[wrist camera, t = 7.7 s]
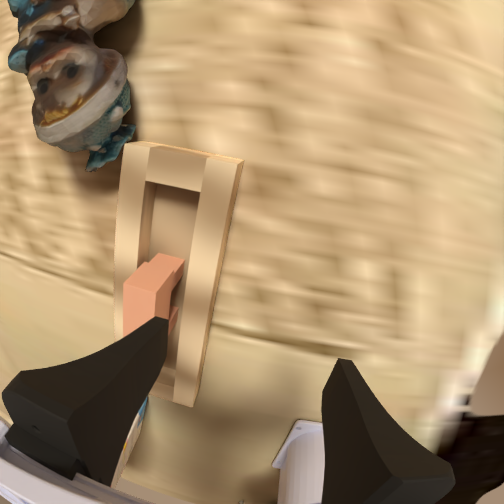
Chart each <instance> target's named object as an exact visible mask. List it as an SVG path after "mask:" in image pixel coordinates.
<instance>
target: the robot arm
mask: <svg viewBox="0 0 504 504" xmlns="http://www.w3.org/2000/svg"><path fill="white" fill-rule="evenodd" d="M168 329H169V320H168V319H164V318H161V317H157V316H155V317H153V318H152V319H150V320H149V321H147V322H146V323H144V324H143V325H141V326H140V327H139V328H137V329H136V330H134V331H133V332H131V333H129V334H128V335H126V336H125V337H123V338H122V339H120V340H118V341H117V342H115V343H113V344H111V345H109V346H108V347H106V348H104V349H102V350H100V351H98V352H96V353H93V354H91V355H89V356H86V357H84V358H81V359H78V360H75V361H72V362H68V363H65V364H61V365H57V366H53V367H48V368H42V369H34V370H26V371H20V372H19V373H18V374H17V375H16V377H15V378H14V379H13V380H12V381H11V382H10V383H9V384H8V386H7V387H6V388H5V389H4V390H3V392H2V400H3V402H4V405H5V407H6V409H7V411H8V413H9V415H10V417H11V419H12V421H13V423H14V424H13V425H12V426H11V428H9V427H8V426H7V425H6V424H5V423H4V422H3V421H1V420H0V495H1V496H3V497H4V498H5V499H7V500H8V501H10V502H11V503H12V504H154V503H151V502H148V501H145V500H142V499H139V498H137V497H134V496H131V495H128V494H125V493H123V492H121V491H118V490H115V489H113V488H111V484H112V480H113V477H114V474H115V471H116V468H117V465H118V462H119V459H120V456H121V453H122V450H123V448H124V445H125V442H126V440H127V437H128V434H129V432H130V429H131V427H132V425H133V422H134V420H135V418H136V416H137V414H138V412H139V410H140V408H141V406H142V405H143V403H144V401H145V399H146V397H147V396H148V394H149V392H150V390H151V389H152V387H153V385H154V383H155V382H156V380H157V378H158V376H159V374H160V372H161V369H162V367H163V364H164V362H165V359H166V357H167V344H168ZM272 466H273V467H274V468H280V480H279V491H278V502H277V504H434V503H436V502H437V501H438V500H439V499H441V498H442V497H443V496H445V495H446V494H447V493H448V492H449V491H450V490H451V489H452V488H453V486H454V485H455V478H454V474H453V471H452V467H451V464H450V463H448V462H446V461H445V460H443V459H441V458H440V457H438V456H436V455H435V454H433V453H432V452H430V451H429V450H427V449H426V448H425V447H423V446H422V445H421V444H419V443H418V442H417V441H416V440H414V439H413V438H412V437H411V436H410V435H409V434H408V433H407V432H405V431H404V430H403V429H402V428H401V427H400V426H399V425H398V424H397V422H396V421H395V420H394V419H393V418H392V417H391V416H390V415H389V414H388V412H387V411H386V410H385V409H384V407H383V406H382V405H381V403H380V402H379V401H378V399H377V398H376V397H375V395H374V394H373V392H372V391H371V389H370V388H369V386H368V385H367V383H366V382H365V380H364V379H363V377H362V376H361V374H360V372H359V371H358V369H357V368H356V366H355V365H354V363H353V362H352V360H346V359H340V358H338V360H337V362H336V364H335V366H334V368H333V371H332V373H331V375H330V377H329V379H328V381H327V383H326V385H325V387H324V389H323V392H322V423H320V422H313V421H306V420H298V421H296V422H295V424H294V426H293V428H292V430H291V432H290V433H289V435H288V437H287V439H286V441H285V442H284V444H283V446H282V448H281V449H280V451H279V453H278V455H277V456H276V458H275V460H274V461H273V463H272Z"/></svg>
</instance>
